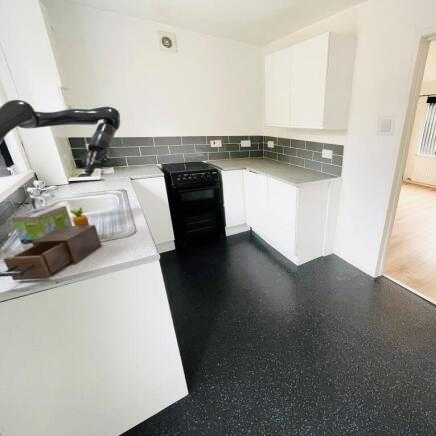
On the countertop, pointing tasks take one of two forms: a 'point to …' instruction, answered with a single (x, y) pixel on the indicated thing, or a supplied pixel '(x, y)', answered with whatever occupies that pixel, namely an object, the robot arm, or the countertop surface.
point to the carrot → (79, 218)
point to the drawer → (37, 261)
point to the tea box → (40, 223)
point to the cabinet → (74, 240)
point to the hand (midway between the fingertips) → (88, 173)
